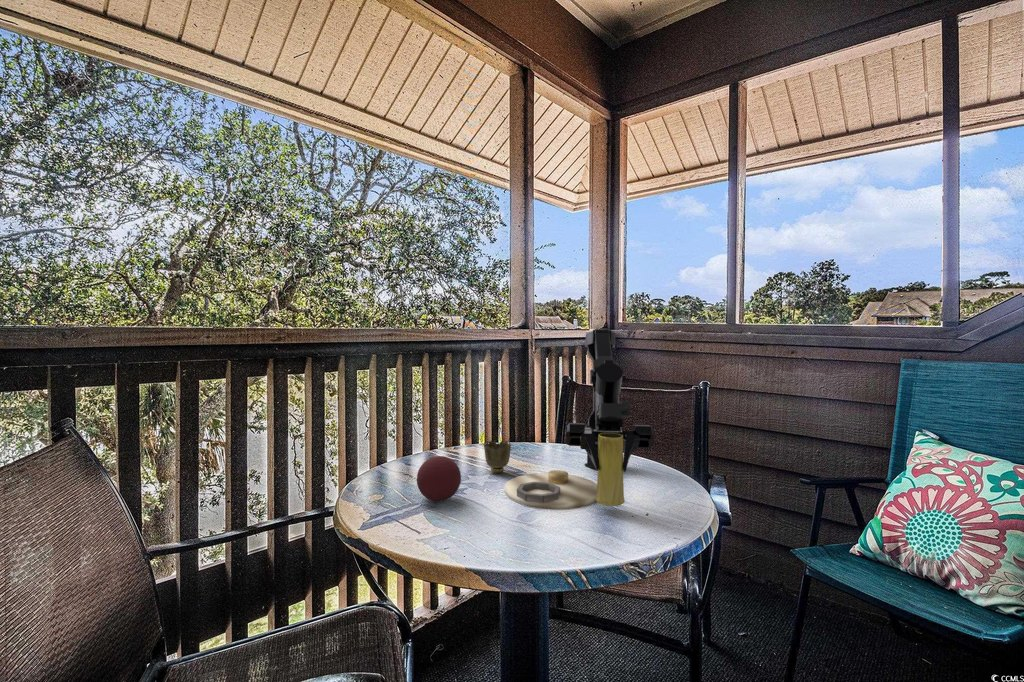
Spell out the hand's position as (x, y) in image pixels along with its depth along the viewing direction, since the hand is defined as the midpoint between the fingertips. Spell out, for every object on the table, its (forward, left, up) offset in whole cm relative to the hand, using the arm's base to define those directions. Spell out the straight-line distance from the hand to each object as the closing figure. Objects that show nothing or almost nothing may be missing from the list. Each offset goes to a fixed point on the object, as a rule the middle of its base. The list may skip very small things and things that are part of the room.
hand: (611, 470), depth 101 cm
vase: (-1, -1, -7) cm, 7 cm away
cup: (+6, -38, -10) cm, 40 cm away
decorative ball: (+28, -26, -10) cm, 40 cm away
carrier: (+2, -18, -9) cm, 20 cm away
